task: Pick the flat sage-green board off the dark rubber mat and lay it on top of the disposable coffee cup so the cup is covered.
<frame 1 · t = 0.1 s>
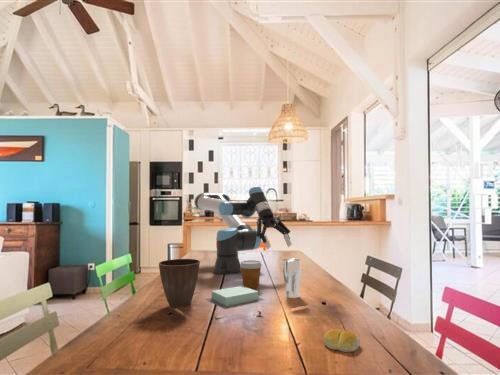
hand: (279, 246, 172), 15 cm above the table, tool tilted 35°, fingers open, 13 cm apart
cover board: (234, 299, 131), point 1 cm above the table, touching rubber mat
plant pot: (179, 306, 127), on the table
beer glass: (292, 298, 135), on the table
rubber mat: (234, 301, 131), on the table
disposable coffee cup: (250, 290, 148), on the table
bread roll: (341, 346, 91), on the table
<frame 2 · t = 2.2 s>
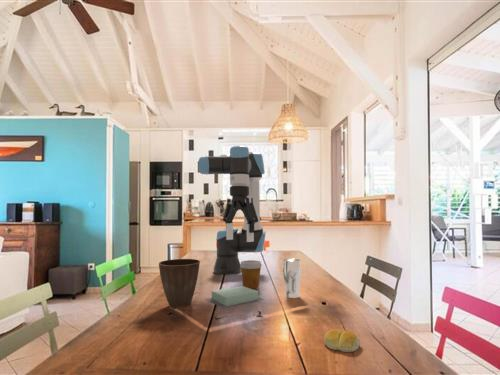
hand: (239, 240, 133), 23 cm above the table, tool pointing down, fingers open, 13 cm apart
nothing on the table moved.
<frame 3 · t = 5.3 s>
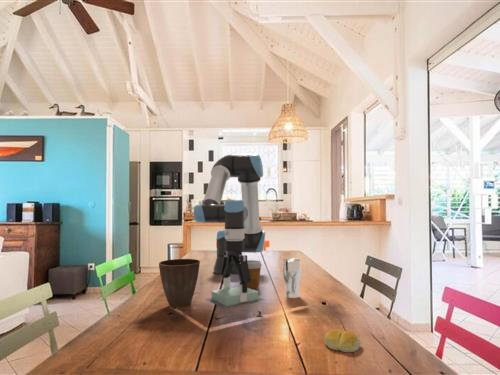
hand: (234, 297, 131), 2 cm above the table, tool pointing down, fingers closed on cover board, 11 cm apart
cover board: (234, 299, 131), point 1 cm above the table, touching gripper, rubber mat
everything else where it was.
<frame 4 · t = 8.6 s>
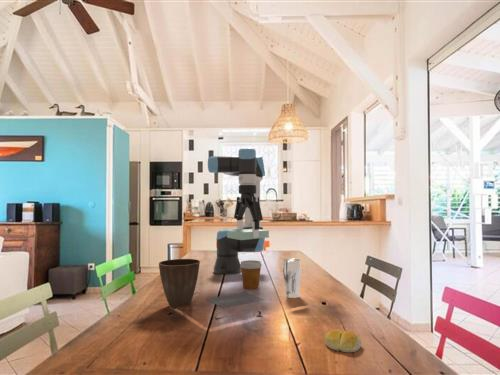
hand: (247, 236, 147), 23 cm above the table, tool pointing down, fingers closed on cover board, 11 cm apart
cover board: (247, 237, 146), point 23 cm above the table, touching gripper
everything else where it was.
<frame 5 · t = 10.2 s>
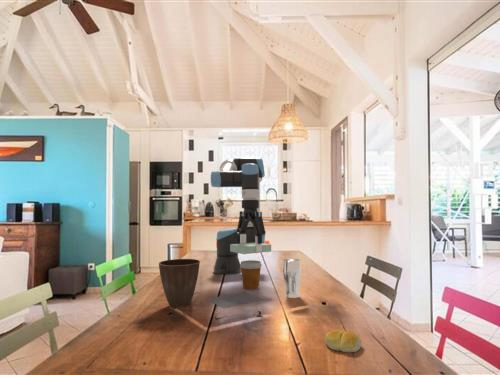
hand: (250, 250, 149), 17 cm above the table, tool pointing down, fingers closed on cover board, 11 cm apart
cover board: (250, 251, 149), point 17 cm above the table, touching gripper
everything else where it was.
when the fingers open (13 cm above the table, at t = 11.9 s): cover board drops 1 cm, resting on disposable coffee cup.
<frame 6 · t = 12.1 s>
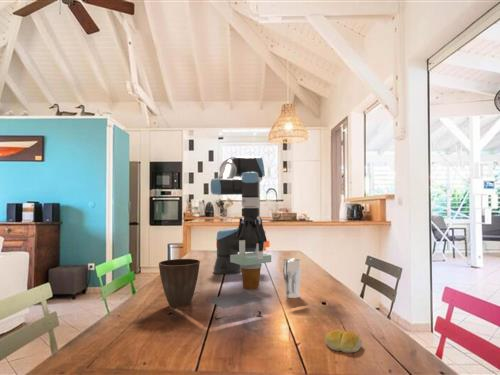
hand: (250, 257, 149), 14 cm above the table, tool pointing down, fingers open, 13 cm apart
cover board: (250, 262, 149), point 12 cm above the table, touching disposable coffee cup
disposable coffee cup: (250, 290, 148), on the table, touching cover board
everything else where it was.
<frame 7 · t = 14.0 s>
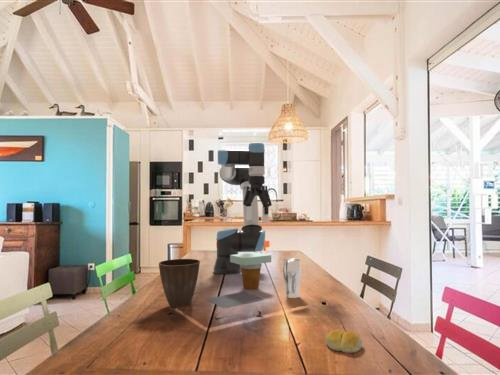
hand: (256, 220, 163), 29 cm above the table, tool pointing down, fingers open, 13 cm apart
nothing on the table moved.
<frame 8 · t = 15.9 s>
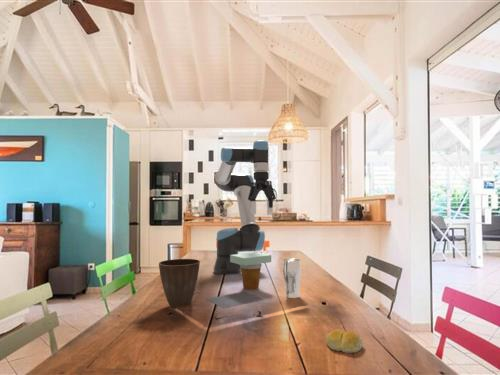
hand: (261, 214, 172), 32 cm above the table, tool pointing down, fingers open, 13 cm apart
nothing on the table moved.
at the end: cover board 0.1 cm from the disposable coffee cup (horizontally); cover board point 12.0 cm above the table; disposable coffee cup tilted 0° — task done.
